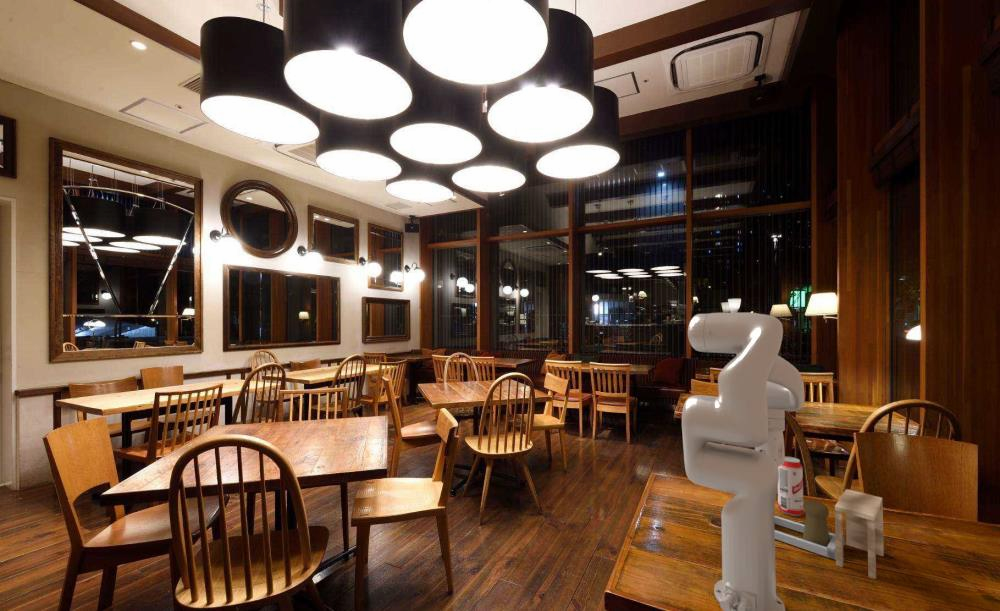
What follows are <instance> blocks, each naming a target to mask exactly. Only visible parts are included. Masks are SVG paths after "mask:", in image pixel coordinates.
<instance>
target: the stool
mask: <svg viewBox="0 0 1000 611" xmlns="http://www.w3.org/2000/svg"><path fill="white" fill-rule="evenodd" d="M883 509H884V508H883V497H882V496H881V497H880V496H877V495H873V494H869V493H865V492H860V491H855V490H852V489H848V488H846V489H845V490H844V492H843V493H842V494H841V495H840V497H839V499H838V500H837V502H836V504H835V505H834V525H835V526H834V527H835V528H834V529H835V533H834V534H835V538H836V560H835V566H838V567H840V568H844V546H843V537H844V532H843V531H844V528H843V525H844V524H843V513H844V514H845V532H846V533H845V539H846V541H845V542H846V544H845V545H846V546H850V547H853V548H855V549H859V550H862V551H865V552H867V566H868V568H867V569H868V570H867V571H868V574H867V575H868V578H871V579H874V580H876V579H877V558H876V557H877V556H880V557H884V552H885V551H884V518H883V517H884V516H883V515H884V514H883V513H884V512H883Z"/></svg>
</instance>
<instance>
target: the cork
mask: <svg viewBox="0 0 1000 611" xmlns="http://www.w3.org/2000/svg"><path fill="white" fill-rule="evenodd" d="M803 512H805V519H804V520H805V521H804V525H805V526H804V533H803V535H802V539H803V540H806V541H809V542H812V543H815V544H818V545H821V546H824V547H827V546H828V544H829V543H830V538H829V533H830V532H829V528H828V522H827V519H828V516H829V514H830V512H829V508H828V506H827V504H826V505H825V503H823V502H821V501H817V500H806V501H805V502H803Z"/></svg>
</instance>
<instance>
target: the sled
mask: <svg viewBox="0 0 1000 611" xmlns="http://www.w3.org/2000/svg"><path fill="white" fill-rule="evenodd" d="M774 525H777V526H780V527H784V528H787V529H791V530H792V531H793V530H794V531H796V532H800V533H804V526H805V523H804V524H803V523H800V522H796V521H795V520H790V519H787V518H785V517H781V516H778V515H775V517H774ZM829 538H830V543H829V544H828V546H827V547H824V546H821V545H818V544H815V543H812V542H809V541H806V540H803V538H800V537H797V536H794V535H791V534H788V533H785V532H782V531H779V530H776V529H775V540H777V541H779V542H783V543H785V544H789V545H791V546H795V547H797V548H800V549H804V550H806V551H809V552H812V553H815V554H818V555H820V556H823V557H825V558H830V559H833V560H835V561H836V538H835V533H832V532H829ZM845 539H846V538H845V536H843V547H844V546H845V545H846V544H845V542H846V541H845Z"/></svg>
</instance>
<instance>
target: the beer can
mask: <svg viewBox="0 0 1000 611" xmlns="http://www.w3.org/2000/svg"><path fill="white" fill-rule="evenodd" d="M778 470H779V481H778V487H777V508H778V509H779V511H780V512H781V513H782V514H784V515H787V516H791V517H800V516H803V514H804V484H803V483H804V480H803V479H804V477H803V466H802V463H801V460H800V459H799V458H796V457H794V456H793V457H792V456H787V455H786V456H785V462H784V463H783V464H782V465H780V466H779V467H778Z"/></svg>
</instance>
